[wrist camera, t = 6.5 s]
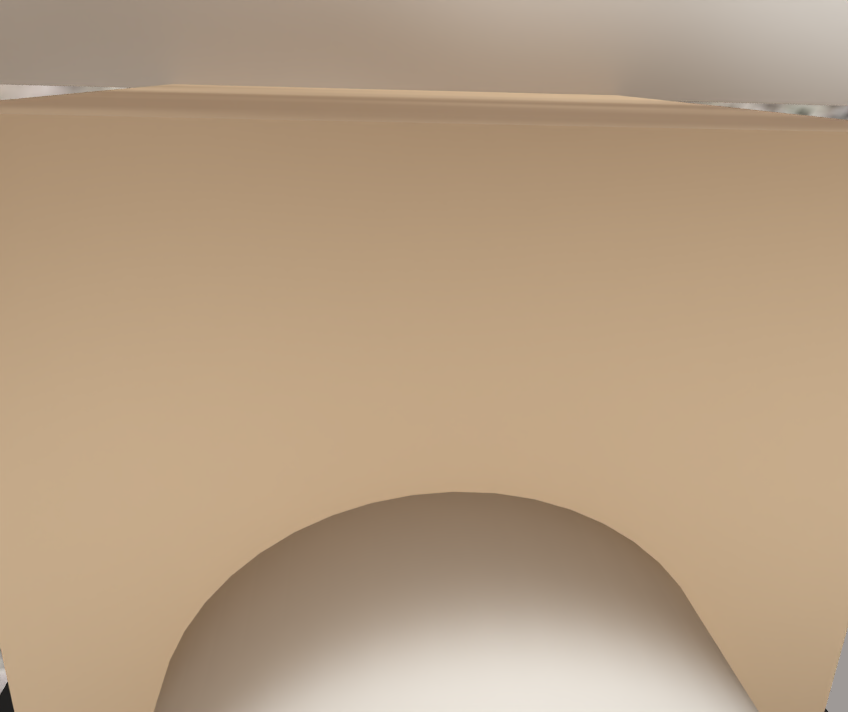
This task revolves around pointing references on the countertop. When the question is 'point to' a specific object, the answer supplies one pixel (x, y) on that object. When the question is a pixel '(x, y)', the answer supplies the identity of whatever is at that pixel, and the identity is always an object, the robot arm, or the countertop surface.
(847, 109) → the countertop surface
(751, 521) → the tan toy brick
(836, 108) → the countertop surface
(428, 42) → the wooden mini stool
